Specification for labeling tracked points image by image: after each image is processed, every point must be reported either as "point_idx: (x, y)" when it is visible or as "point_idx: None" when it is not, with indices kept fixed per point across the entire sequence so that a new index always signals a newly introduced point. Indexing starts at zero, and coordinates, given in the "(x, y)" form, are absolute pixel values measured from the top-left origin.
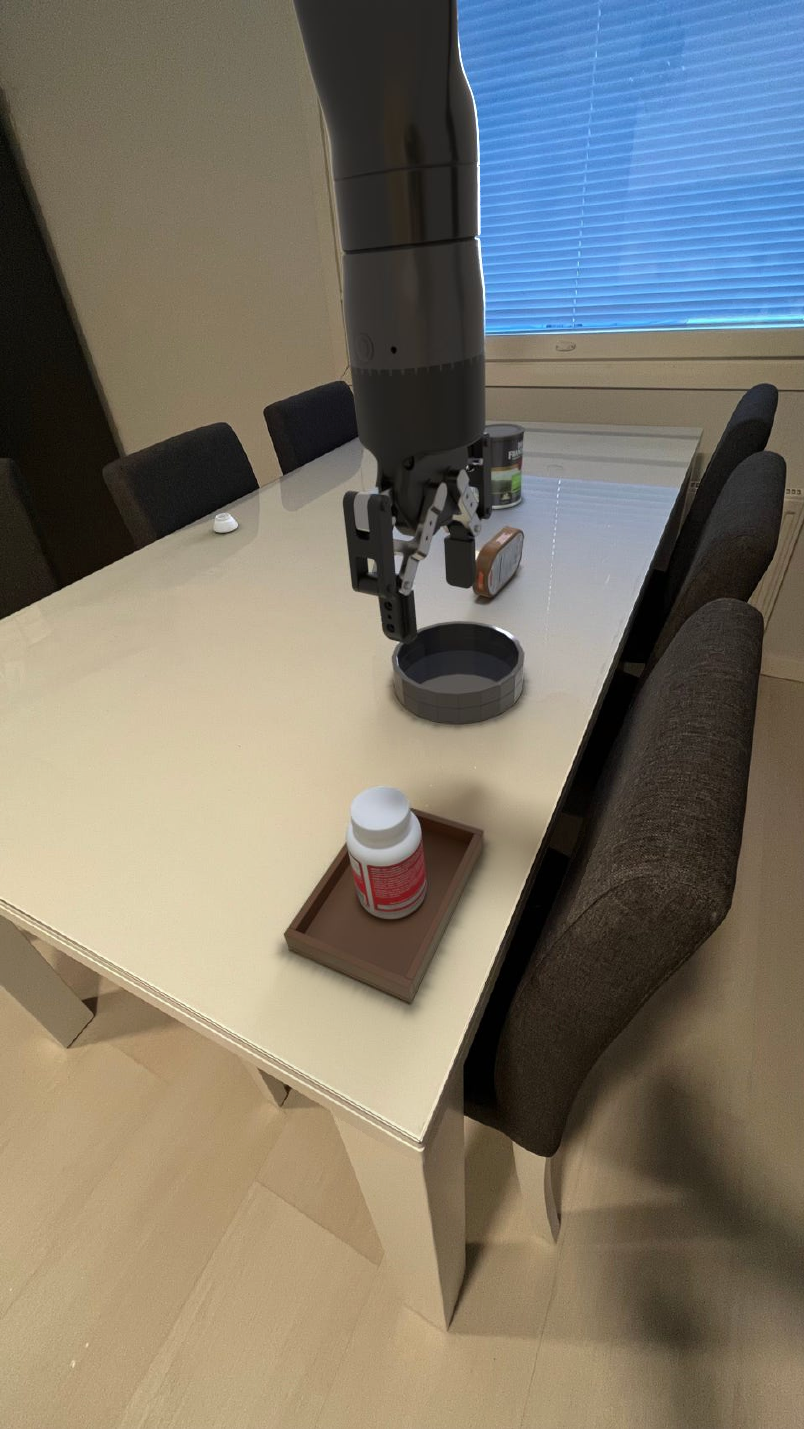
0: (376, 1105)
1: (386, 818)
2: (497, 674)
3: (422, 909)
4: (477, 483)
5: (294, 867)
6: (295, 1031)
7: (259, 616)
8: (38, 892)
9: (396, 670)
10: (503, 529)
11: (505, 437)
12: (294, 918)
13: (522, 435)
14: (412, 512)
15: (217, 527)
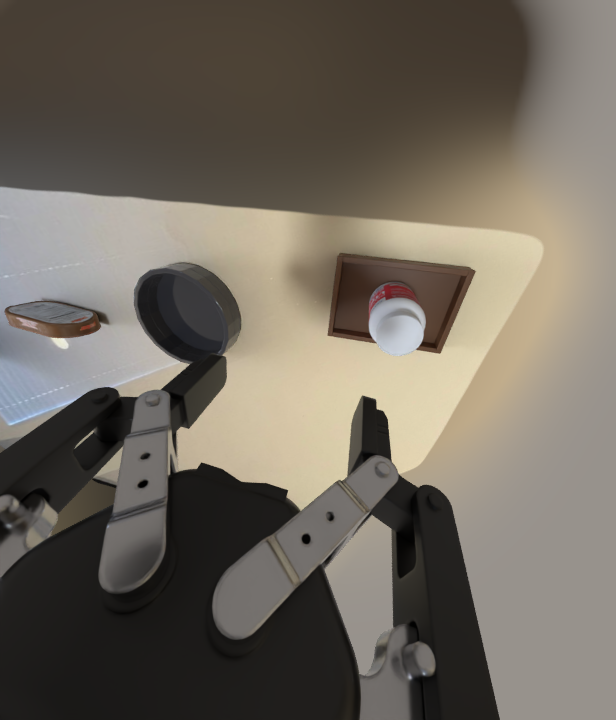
0: (536, 267)
1: (411, 328)
2: (174, 286)
3: (402, 280)
4: (61, 457)
5: (381, 361)
6: (488, 325)
7: (200, 441)
8: (415, 458)
9: None
10: (17, 326)
11: None
12: (428, 351)
13: None
14: (327, 602)
15: None
